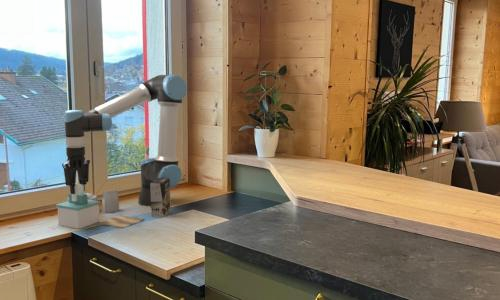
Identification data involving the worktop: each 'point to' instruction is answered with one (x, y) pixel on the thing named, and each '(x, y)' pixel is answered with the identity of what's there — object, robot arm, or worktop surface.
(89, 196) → the lumpy-topped squat cylinder
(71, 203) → the lid
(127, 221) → the cork mat
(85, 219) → the storage box
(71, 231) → the worktop surface
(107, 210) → the grey rectangular block
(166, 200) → the coffee box
